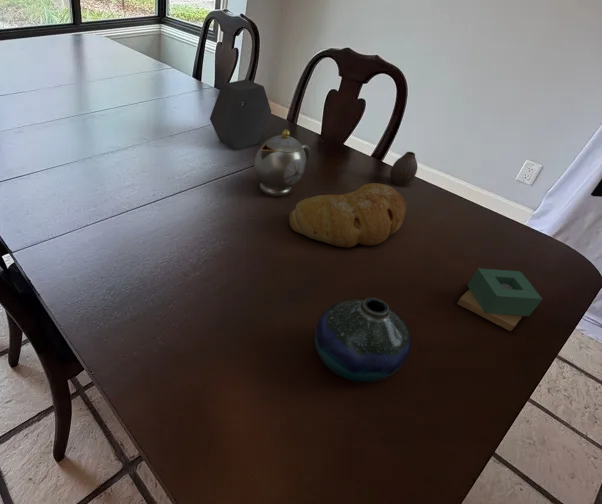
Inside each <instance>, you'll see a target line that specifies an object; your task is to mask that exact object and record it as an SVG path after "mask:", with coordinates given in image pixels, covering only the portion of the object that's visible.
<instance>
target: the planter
mask: <svg viewBox="0 0 602 504" xmlns="http://www.w3.org/2000/svg"><path fill="white" fill-rule="evenodd" d="M271 114H272V109H271V106H270V103H269V100H268V96H267V92H266V89H265V86H264V85H262V84H260V83H257V82H254V81H252V80H250V79H241V80H235V81H230V82H225V83H222V84H221V87H220V89H219V91H218V94H217V97H216V100H215V102H214V106H213V109H212V111H211V114H210V117H209V121H210V123H211V125H212V127H213V129H214V131H215V133H216V136H217V139H218V140H219V142H220V143H221V144H223V145H225V146H227V147H229V148H231V149H233V150H235V151H237V150H241V149H244V148H245V149H246V148H248V147H252V146H255V145H258V144H259V143H260V140H261V138H262V136H263V133H264V131H265V128H266V126H267V124H268V121H269V119H270V116H271Z"/></svg>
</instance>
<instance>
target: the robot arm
mask: <svg viewBox="0 0 602 504" xmlns="http://www.w3.org/2000/svg"><path fill="white" fill-rule="evenodd" d="M590 196H592V197H597V198H599V197H600V198H602V178H601V179H600V181H598V183H597V184H596V186H595V188H594V189H593V190H592V192H591V193H590Z"/></svg>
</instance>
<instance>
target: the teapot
mask: <svg viewBox="0 0 602 504" xmlns="http://www.w3.org/2000/svg"><path fill="white" fill-rule="evenodd" d="M290 135H291V132H290V130H289V129H285V128H284V129H283V130H282V132H281V134H279V135H275V136H272V137H270V138H268V139H266V140H265V141H264V142H263V143H262V144H261V145H260V147H259V148H258V150H257V152H256V154H255V158H254V172H255V175H256V177H257V179H258V181H259V190H260V191H261V192H262V193H263V194H265V195H266V196H270V197H275V198H282V197H286V196H287V195H289V194H290V193H291V191H292V187H293V186H295V184H297V183H298V182H299V181H300V180H301V178H302V177H303V175H304V173H305V170H306V169H307V167H308V165H309V163H310V159H311V154H312V153H311V148H310V146H309V145H307V144H303V143H302V144H301V142H300V141H298V140H297V139H296V138H294V137H292V136H290Z"/></svg>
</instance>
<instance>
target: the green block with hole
mask: <svg viewBox="0 0 602 504" xmlns="http://www.w3.org/2000/svg"><path fill="white" fill-rule="evenodd" d="M501 284H508V285H510V286H511V287H512V289H503V287H502V286H501ZM467 287H468V290H469V289H470V291H471V292H472V294H473V295H474V297H475V299H476V300H477V302H478V303H479V305H480V306H481V308H482V310H483V311H484V313H491V314H505V315H519V316H523V317H530V316H531V314H532V313H533V312H534V311H535V309H536V308H537V307H538V306H539V304H540V303H541V302H542V301H543V298H542V296H541V295H540V294H539V292H538V291H537V290H536V289H535V287H534V286H533V285H532V284H531V283H530V281H529V280H528V278H527V277H526V276H525V275H524V273H523V271H521V270H520V271H519V270H507V269H495V268H494V269H492V268H476V270H475V272H474V274H473V276H472V277H471V278H470V280H469V281H468V283H467Z"/></svg>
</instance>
